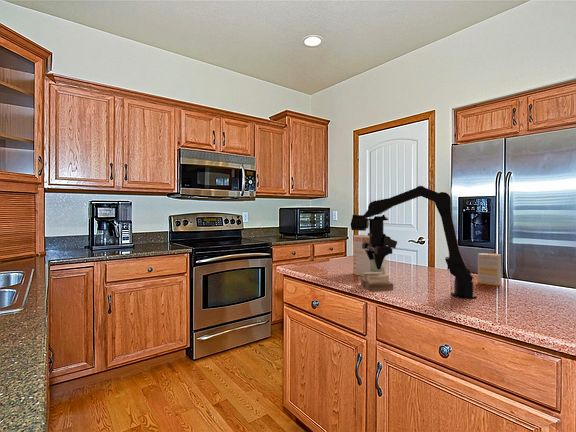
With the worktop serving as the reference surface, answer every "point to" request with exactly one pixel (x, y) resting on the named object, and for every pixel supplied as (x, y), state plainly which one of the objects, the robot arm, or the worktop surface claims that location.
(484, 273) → the supplement box
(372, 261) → the green rounded lump
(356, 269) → the coffeecake box
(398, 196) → the robot arm
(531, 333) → the worktop surface
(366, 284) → the base slab
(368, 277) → the top block
